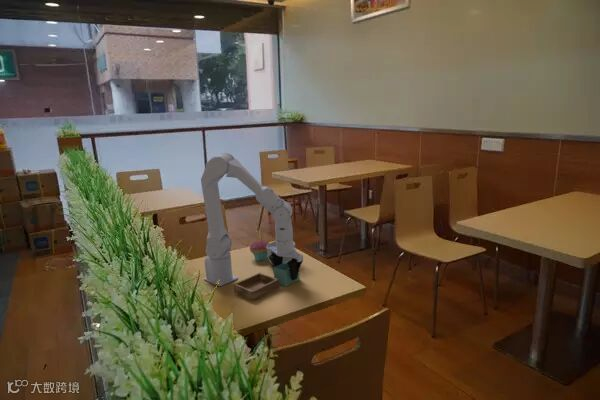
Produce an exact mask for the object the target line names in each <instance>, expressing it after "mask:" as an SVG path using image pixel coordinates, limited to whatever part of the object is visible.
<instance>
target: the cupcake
mask: <svg viewBox="0 0 600 400" xmlns="http://www.w3.org/2000/svg"><path fill="white" fill-rule="evenodd" d="M260 228H261V227H259V228H258V238H259V239H258V240H257V241H253V242H252V243H251V244H250V245H249V251H250V253H252V254H253V257H254V259H255V260H256V261H265V260H267V259H268V253H267V248H266V246H267V245H268V244H269V243H270V242H269V241H267V240H262V236H261V235H262V234H261V232H262V231H261V229H260Z"/></svg>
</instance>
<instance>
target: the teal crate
mask: <svg viewBox="0 0 600 400" xmlns="http://www.w3.org/2000/svg"><path fill="white" fill-rule="evenodd" d="M287 262H288V261H287ZM287 262H285V263H283V264H280V265H278V266H276V267H274V266H273V277H274V278H276V279H279V286H282V287H287V286H289V285H291V284H294V283H295V282H297V281H298V280H300V271H299V272H298V277H297V279H295V280H292V279H291V273H290V268H289V266H288V264H287Z"/></svg>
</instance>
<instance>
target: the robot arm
mask: <svg viewBox="0 0 600 400" xmlns="http://www.w3.org/2000/svg"><path fill="white" fill-rule="evenodd" d="M225 175H226V176H225ZM224 176H225V177H226V178H235V179H237V180H238V181H240V182H241V183H242V184H243V185H244V186H246V187H247V188H248V189H249V190H251V191H252V192H253V194H255V200H256V201H257V202H258V203H259V204H260V205H261V206H262V207H263V208H265V210H267V211H268V212H269V213H270V214H272V215H271V217H272V219H273V221H274V232H275V241H276V247H274V246H272V247H269V248H268V249H269V253H272V254H271V255H270V256H269V258H268V260H269V259H270V260H271V262H272V264H271V265H272V266H273V268H274V267H276V266H278V265H280V264H282V262H283V257H287V258H291V259H292V260H290V261H288V262H287V264H288V266H289V268H290V273H291V279H292V280H295V279H297V277H298V272H299V273H300V268H301V265H302V264H303V262H304V255H303V254H302V253H299V252H298V251H297V250H296V247H295V248H293V241H294V237H293V235H294V233H293V224H292V223H293V222H292V221H293V220H292V217H291V216H292V215H293V206H292V205H291V204H290V202H289V201H285V199H283V198H280V197H279V195H278V194H277V193H276V192H275V189H274V188H273V187H271V188H270V187H269V186H263V185H262V184H261V183H260V182H259V181H258V180H257V179H256V178H255V177H254V176H253V175H252V174H251V173H250V172H249V171H248V170H247V169H246V168H245V167H244V166H243V164H242V163H241V162H240V161H239V159H237V158H235V157H234V156H233V155H232V154H231V153H228V152H224V153H221V154H219V155H217V156H213V157H211V158H210V159H209V160H208V161H207V162H206V163H205V168H204V171H203V173H202V175H201V178H200V184H201V189H202V197H203V203H204V209H205V215H206V221H207V229H208V234H207V237H206V247H205V253H206V257H205V259H204V267H205V271H204V272H205V277H204V278H203V279H204V280H205V281H207V282H209V283H211V284H213V285H216V283H217V281H218V280H219V279H220V281H219V284H218V285H216V286H218V287H222V286H225V285H226V284H229V283H231V282H234V281H236V280H238V279H239V277H238V276H236V275H233V269H232V255H231V252H230V248H231V247H232V243H233V242H232V239H231V237H230V235H229V234H228V229H227V228H226V227H225V223H224V217H223V210H222V203H221V197H220V195H221V194H220V190H219V189H220V188H219V182H221V180H222V178H223V177H224ZM295 250H296V251H295Z"/></svg>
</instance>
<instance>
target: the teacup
mask: <svg viewBox="0 0 600 400" xmlns="http://www.w3.org/2000/svg"><path fill="white" fill-rule="evenodd" d="M272 246H274V247H276V240H275V241H272V242H269V244H268V245H267V246H266V248H267V253H268V257H267V259H268V261H269V263H271V265H273V264H272V262H271V260H270V259H269V256H270V255H271V254H272V253H269V249H268V248H269V247H272ZM293 248H295V251H296V252H297V249H296V242H295V241H294V240H293ZM290 260H292V259H291V258H287V257H283V262H282V264H283V263H285V262H287V261H290Z"/></svg>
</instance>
